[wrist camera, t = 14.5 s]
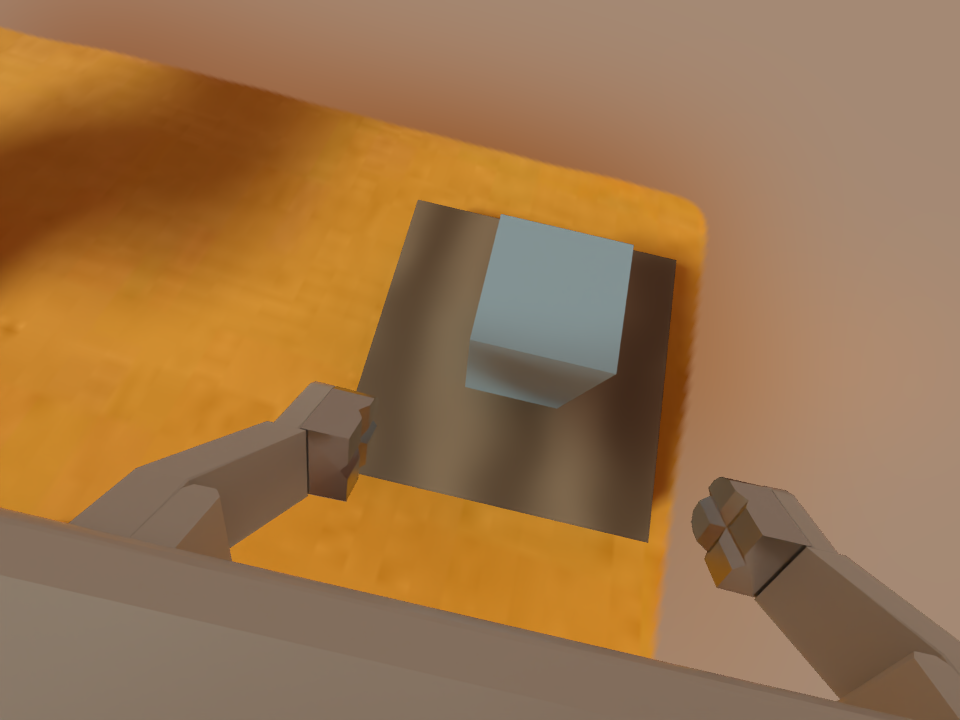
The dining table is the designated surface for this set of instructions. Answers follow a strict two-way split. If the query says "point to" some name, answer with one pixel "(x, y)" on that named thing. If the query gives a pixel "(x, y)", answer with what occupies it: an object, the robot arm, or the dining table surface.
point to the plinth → (503, 420)
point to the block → (548, 313)
